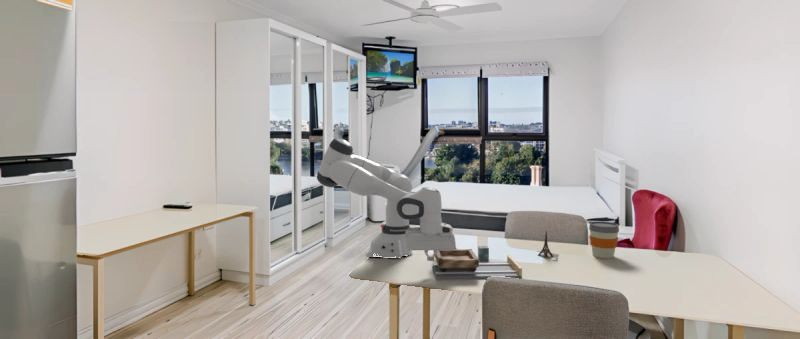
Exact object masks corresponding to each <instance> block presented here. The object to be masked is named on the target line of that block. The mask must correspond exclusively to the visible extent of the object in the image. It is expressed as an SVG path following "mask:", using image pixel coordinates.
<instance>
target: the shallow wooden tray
mask: <svg viewBox="0 0 800 339" xmlns="http://www.w3.org/2000/svg"><path fill="white" fill-rule="evenodd" d="M434 259H435V261H436V263H437V264H438V267H439V269H440V271H441V272H445V271H446V270H447V268H469V270H470V271H471V272H474V271H476V269H477V267H479V262H480V261H479V259H478V255H476V254H475V252H474V251H473V249H472V248H468V249H467V248H465V249H464V248H463V249H461V248H460V249H458V248H457V249H454V250H437V254H436V255H435V257H434Z"/></svg>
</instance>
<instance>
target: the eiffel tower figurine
mask: <svg viewBox="0 0 800 339" xmlns="http://www.w3.org/2000/svg"><path fill="white" fill-rule="evenodd" d="M536 252H537V253H538V254H537V255H536V256H538V257H540V258H543V259H551V258H553V259H552V260H551V262H557V263H558V262H559V254H557V253H553V252H551V250H550V248H549V244H548V231H547V230H546V231H545V236H544V244H543V247H542V249H541V250H540V251H538V250H537V251H536Z"/></svg>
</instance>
